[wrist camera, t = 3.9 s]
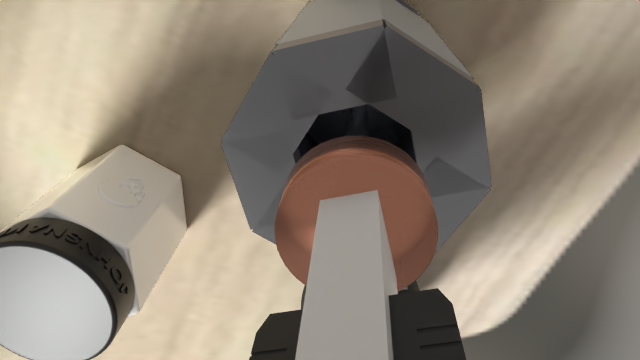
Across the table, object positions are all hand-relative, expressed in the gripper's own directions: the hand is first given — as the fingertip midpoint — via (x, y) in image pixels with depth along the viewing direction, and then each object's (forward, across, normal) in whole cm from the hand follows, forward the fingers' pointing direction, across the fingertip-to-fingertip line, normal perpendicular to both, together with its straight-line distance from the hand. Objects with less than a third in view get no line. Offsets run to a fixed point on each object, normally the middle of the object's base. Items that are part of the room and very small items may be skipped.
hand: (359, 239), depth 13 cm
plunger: (+14, 0, 0) cm, 14 cm away
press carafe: (+20, 0, -1) cm, 20 cm away
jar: (+20, -18, -6) cm, 28 cm away
